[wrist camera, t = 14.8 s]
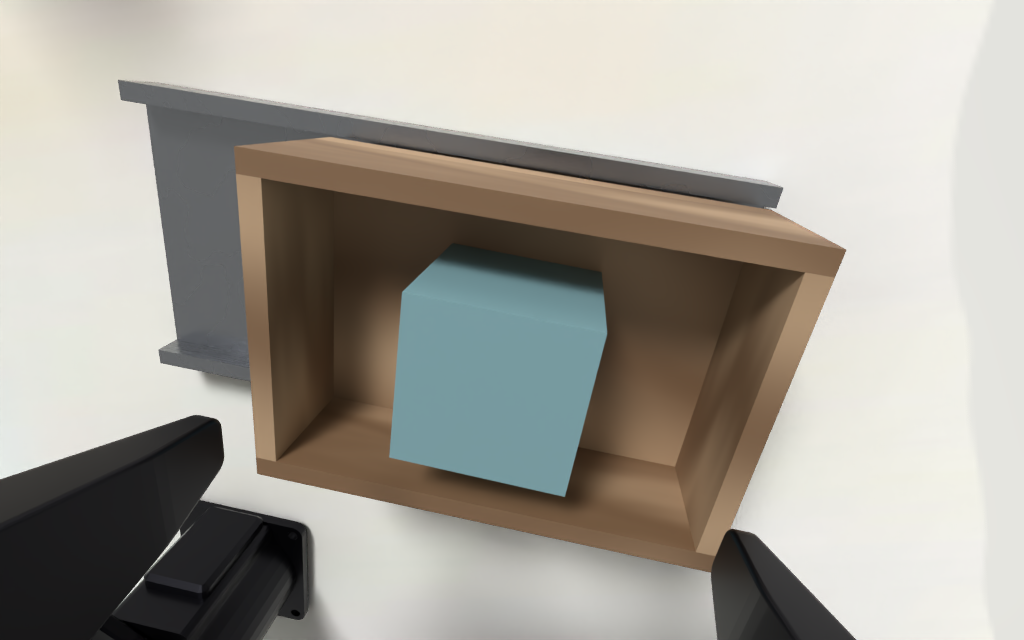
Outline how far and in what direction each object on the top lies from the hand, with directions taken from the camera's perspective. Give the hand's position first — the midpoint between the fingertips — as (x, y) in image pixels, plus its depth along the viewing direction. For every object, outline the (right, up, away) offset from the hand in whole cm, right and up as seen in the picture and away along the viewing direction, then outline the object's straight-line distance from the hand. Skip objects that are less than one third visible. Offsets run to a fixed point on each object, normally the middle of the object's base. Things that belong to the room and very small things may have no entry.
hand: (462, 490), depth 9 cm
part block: (+1, +3, +7) cm, 8 cm away
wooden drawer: (+1, +4, +10) cm, 11 cm away
